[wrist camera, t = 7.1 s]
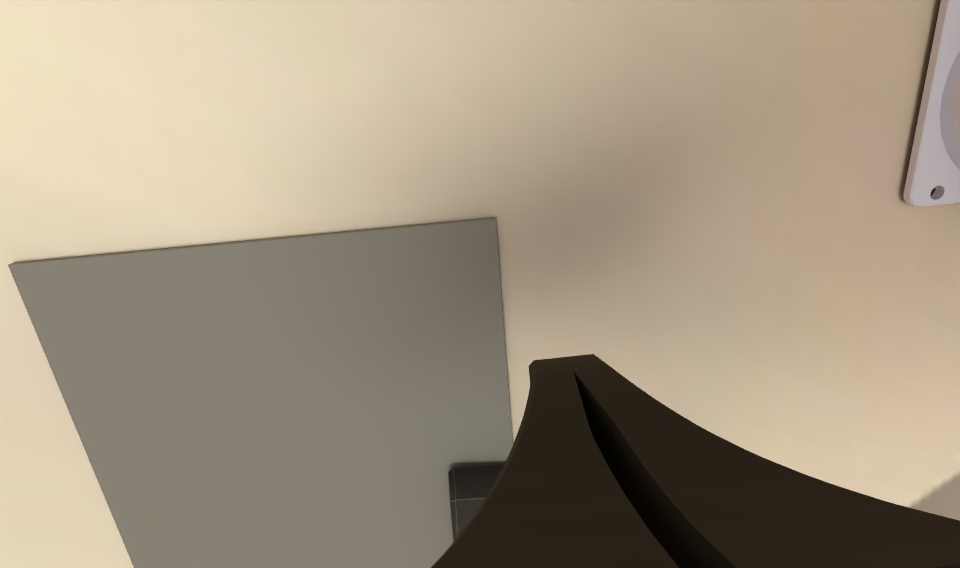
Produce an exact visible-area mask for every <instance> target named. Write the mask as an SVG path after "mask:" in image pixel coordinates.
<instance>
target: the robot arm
mask: <svg viewBox="0 0 960 568" xmlns="http://www.w3.org/2000/svg"><path fill="white" fill-rule="evenodd" d="M934 187H935V192H934V194H933V195H932V196H931V197H930V193H931V191H932V189H933V188H934ZM904 200H905V202H906V203H907V204H909V205H912V206H917V207H924V206H935V205H945V204H956V203H960V0H941V3H940V8H939V13H938V19H937V24H936V29H935V34H934V39H933V44H932V50H931V55H930V60H929V65H928V70H927V75H926V80H925V86H924V91H923V96H922V101H921V106H920V111H919V117H918V122H917V127H916V132H915V137H914V142H913V147H912V153H911V158H910V163H909V168H908V173H907V178H906V184H905V189H904ZM529 374H530V390H529V396H528V400H527V404H526V408H525V412H524V416H523V419H522V422H521V425H520V428H519V431H518V433H517V436H516V439H515V442H514V444H513V447H512V449H511V451H510V453H509V456H508V458H507V460H506V462H505V464H504V466H503V468H502V470H501V472H500V474H499V476H498V478H497V479H496V481H495V483H494V484H493V486H492V488H491V489H490V491H489V493H488V495H487V496H486V498H485V499H484V501H483V503H482V504H481V506H480V507H479V509H478V510H477V512H476V513H475V514H474V516H473V517H472V518H471V520H470V521H469V522H468V524H467V525H466V526H465V527H464V529H463V530H462V531H461V533H460V534H459V535H458V537H457V538H456V539H455V541H454V542H453V543H452V544H451V546H450V547H449V548H448V549H447V550H446V552H445V553H444V554H443V555H442V556H441V557H440V558H439V559H438V560H437V561H436V562H435V563H434V565H433V566H432V567H431V568H960V521H958V520H955V519H951V518H947V517H943V516H939V515H935V514H931V513H927V512H923V511H920V510H916V509H912V508H908V507H904V506H900V505H896V504H893V503H889V502H886V501H883V500H879V499H876V498H873V497H870V496H867V495H864V494H860V493H857V492H854V491H851V490H848V489H845V488H842V487H839V486H835V485H833V484H830V483H827V482H824V481H821V480H819V479H816V478H813V477H810V476H807V475H805V474H802V473H800V472H797V471H795V470H792V469H790V468H787V467H785V466H782V465H780V464H777V463H775V462H772V461H770V460H767V459H765V458H763V457H760V456H758V455H756V454H754V453H751V452H749V451H747V450H745V449H743V448H741V447H739V446H737V445H735V444H733V443H731V442H729V441H727V440H725V439H723V438H720V437H718V436H716V435H714V434H712V433H711V432H709V431H707V430H705V429H703V428H701V427H700V426H698V425H696V424H694V423H693V422H691V421H689V420H688V419H686V418H684V417H683V416H681V415H679V414H678V413H676V412H674V411H673V410H671V409H669V408H668V407H666V406H665V405H663V404H662V403H660V402H659V401H657V400H656V399H654V398H653V397H651V396H650V395H648V394H647V393H645V392H644V391H642V390H641V389H640V388H638V387H637V386H635V385H634V384H633V383H631V382H630V381H629V380H627V379H626V378H625V377H623V376H622V375H621V374H619V373H618V372H616V371H615V370H614V369H613V368H611V367H610V366H609V365H607V364H606V363H605V362H603V361H602V360H601V359H599V358H598V357H597V356H595V355H594V354H590V355H581V356H571V357H562V358H553V359H543V360H534V361H533V362H532V363H531V364H530V365H529Z"/></svg>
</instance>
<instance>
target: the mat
mask: <svg viewBox="0 0 960 568" xmlns="http://www.w3.org/2000/svg"><path fill="white" fill-rule="evenodd" d="M8 266H9V269H10V271H11V273H12V276H13V278H14V281H15V283H16V285H17V288H18V290H19V293H20V295H21V297H22V300H23V302H24V305H25V307H26V309H27V312H28V314H29V317H30V319H31V321H32V324H33V326H34V329H35V331H36V333H37V336H38V338H39V341H40V343H41V345H42V348H43V350H44V353H45V355H46V357H47V360H48V362H49V365H50V367H51V369H52V372H53V374H54V377H55V379H56V381H57V384H58V386H59V389H60V391H61V393H62V396H63V398H64V401H65V403H66V405H67V408H68V410H69V413H70V415H71V417H72V420H73V422H74V425H75V427H76V429H77V432H78V434H79V437H80V439H81V441H82V444H83V446H84V449H85V451H86V453H87V456H88V458H89V461H90V463H91V465H92V468H93V470H94V473H95V475H96V477H97V480H98V482H99V485H100V487H101V489H102V492H103V494H104V497H105V499H106V501H107V504H108V506H109V508H110V511H111V513H112V516H113V518H114V520H115V523H116V525H117V528H118V530H119V532H120V535H121V537H122V540H123V542H124V544H125V547H126V549H127V552H128V554H129V556H130V559H131V561H132V564H133V566H134V568H431V567H432V566H433V565H434V563H435V562H436V561H437V560H438V559H439V558H440V557H441V556H442V555H443V554H444V553H445V552H446V550H447V549H448V548H449V547H450V546H451V544H452V543H453V531H452V520H451V509H450V496H449V479H448V472H449V471H450V470H451V469H452V468H453V467H468V466H484V465H499V464H505V462H506V460H507V458H508V456H509V453H510V451H511V449H512V447H513V439H512V426H511V413H510V400H509V387H508V374H507V361H506V348H505V335H504V322H503V308H502V295H501V282H500V269H499V256H498V243H497V230H496V219H495V217H493V218H482V219H472V220H461V221H450V222H440V223H429V224H418V225H408V226H397V227H387V228H376V229H365V230H355V231H344V232H333V233H323V234H312V235H301V236H291V237H280V238H269V239H259V240H248V241H238V242H227V243H216V244H206V245H195V246H184V247H174V248H163V249H152V250H142V251H131V252H120V253H110V254H99V255H89V256H78V257H67V258H57V259H46V260H35V261H25V262H14V263H12V264H9V265H8Z"/></svg>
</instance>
